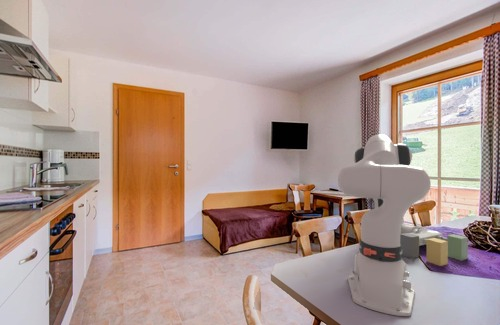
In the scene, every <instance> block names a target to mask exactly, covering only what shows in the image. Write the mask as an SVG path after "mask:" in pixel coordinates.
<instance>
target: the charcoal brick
mask: <svg viewBox="0 0 500 325" xmlns="http://www.w3.org/2000/svg"><path fill="white" fill-rule="evenodd" d="M400 244H401V246H402V257H404V258H407V259H411V260H414V259H417V258H420V246H419V236H417V235H413V234H409V233H404V234H400Z"/></svg>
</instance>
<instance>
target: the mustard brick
mask: <svg viewBox="0 0 500 325" xmlns="http://www.w3.org/2000/svg"><path fill="white" fill-rule="evenodd" d="M448 259H449V257H448V241H445V240H441V239H437V238H430V239H427V245H426V262H427V263H429V264H430V263H431V264H433V265H436V266H439V267H443V266H446V265H448V262H449V261H448Z"/></svg>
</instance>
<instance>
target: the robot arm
mask: <svg viewBox="0 0 500 325" xmlns="http://www.w3.org/2000/svg"><path fill="white" fill-rule="evenodd" d="M412 153H413V152H412V150H411V148H410V147H409V146H408V145H407V143H396V144H395V143H394V142H393V141H392V139H391V138H390V137H389V136H388V135H385V134H375V135H374V134H373V136H371V137H370V138H369V139H368V140H367V141H366V144H365V145H364V146H362V147H360V148H358V149H357V150H355V153H354V155H353V164H349V165H346V166H344V167H343V168H341V170H340V171H339V174H338V176H337V185H338V187H339V189H340V191H341V193H343V194H344V195H347V196H350V197H355V198H361V199H369V200H370V202H369V204H370V210H368V211H366V212H364V213H363V215H362V217H361V220H360V239H359V242H358V246H359V248H358V249H359V252H357V253H356V254H355V255H354V269H353V271H352V273H353V275H348V276H347V282H348V286H349V291H350V294H351V298H352V301H353V302H354V304H355V303H356V304H357V305H359V306H361V307H364V308H365V309H369V310H372V311H376V312H378V313H379V312H380V313H382V314H387V315H392V316H398V317H410V316H412V312H413V307H414V301H415V297H416V291H415V289H414V288H412V282H411V281H410V280H408V278H409V277H410V272H409V271H408V268H407V267H408V266H407V265H408V264H407V263H406V262H405V261H404V260H403V256H402V246H401V244H400V234H404V233H409V234H413V235H417V236H419V247H420V246H425V245H426V246H427V239H430V238H437V239H441V240H445V241H447V238H446V237H444V236H443V233H442V232H440V231H437V230H432V229H428V228H425V227H424V226H421V225H420V226H419V225H417V226H416V225H412V224H407V223H404V216H405V215H406V213H407V211H408V210H409V209H410V208H411V207H412V206H413V205H414V204H416V203H417V202H419V201H420V200H423V199H424V198H425V197H426V196H427V195H428V193H429V192H430V189H431V179H430V176H429V174H428V173H427V171H426V170H424V168H422V167H418V166H414V165H413V166H412V165H411V162H412V160H413V154H412Z"/></svg>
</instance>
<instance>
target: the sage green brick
mask: <svg viewBox="0 0 500 325" xmlns="http://www.w3.org/2000/svg"><path fill="white" fill-rule="evenodd" d="M446 237H447V241H448V258H451V259H454V258H455V259H454V260H458V261H460V262H461V261H465V260H468V259H467V258H468V255H469V254H468V253H469V252H468V251H469V250H468V249H469V248H468V246H469V243H468V240H469V239H468V237H467V236H463V235H457V234H454V233H453V234H448V235H447V236H446Z"/></svg>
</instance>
